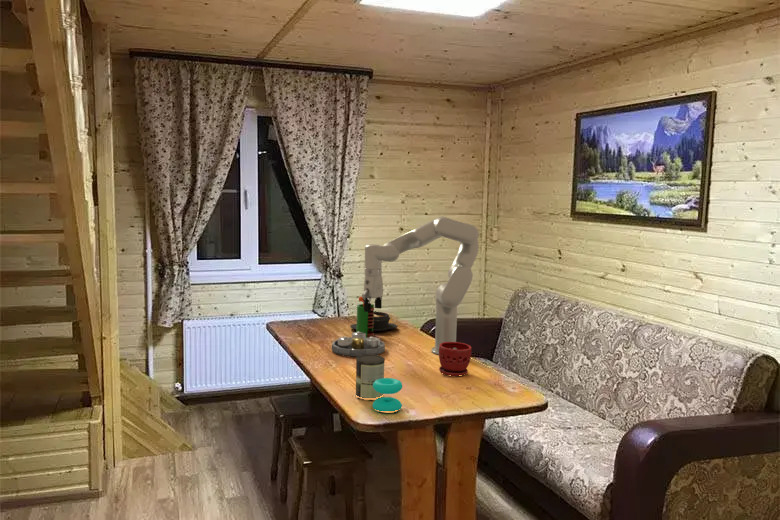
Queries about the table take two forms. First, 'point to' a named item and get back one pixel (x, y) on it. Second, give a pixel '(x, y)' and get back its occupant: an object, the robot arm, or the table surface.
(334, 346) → the carrier
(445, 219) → the robot arm
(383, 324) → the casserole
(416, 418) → the table surface
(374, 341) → the planet gear
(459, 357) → the plant pot
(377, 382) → the donuts
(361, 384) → the coffee can
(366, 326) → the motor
